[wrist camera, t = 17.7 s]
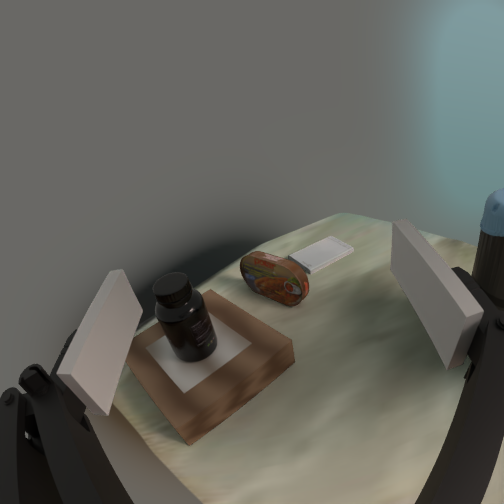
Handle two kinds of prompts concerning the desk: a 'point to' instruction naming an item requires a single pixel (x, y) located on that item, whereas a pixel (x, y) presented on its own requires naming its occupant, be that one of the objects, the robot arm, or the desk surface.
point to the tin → (275, 277)
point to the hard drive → (320, 254)
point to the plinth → (210, 368)
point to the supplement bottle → (184, 318)
